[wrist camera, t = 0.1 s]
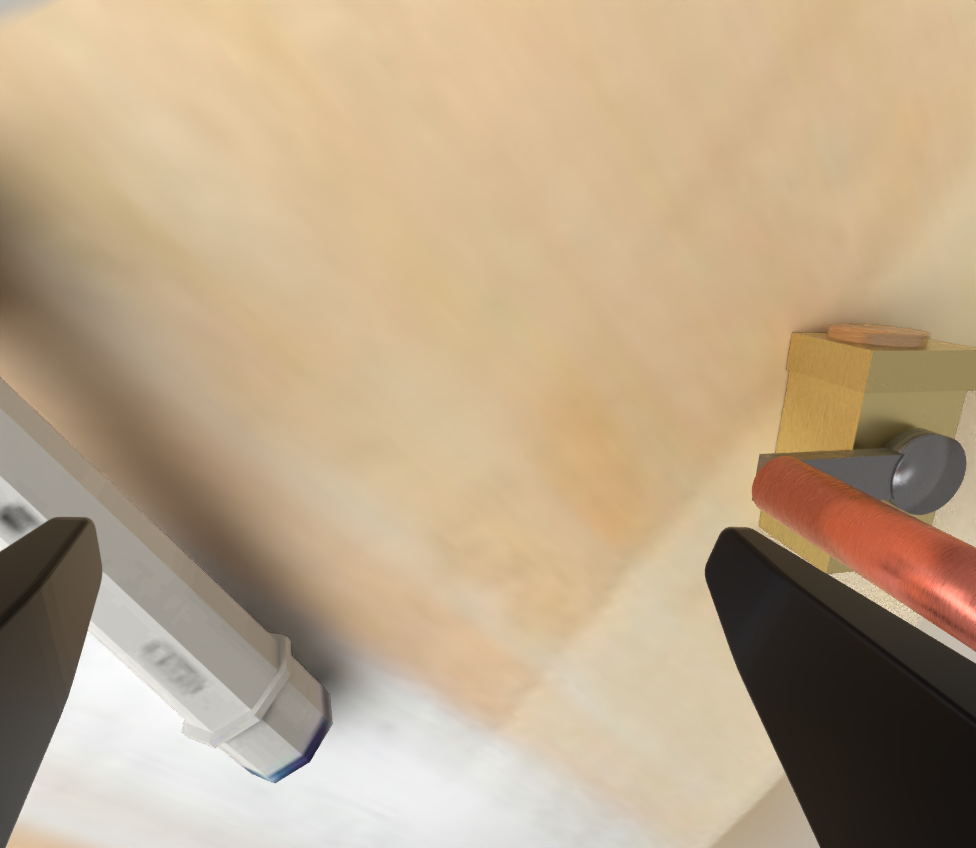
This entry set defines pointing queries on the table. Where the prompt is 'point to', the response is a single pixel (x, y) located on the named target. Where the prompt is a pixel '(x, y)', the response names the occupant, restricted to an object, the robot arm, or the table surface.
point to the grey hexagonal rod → (165, 608)
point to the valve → (866, 399)
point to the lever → (882, 519)
